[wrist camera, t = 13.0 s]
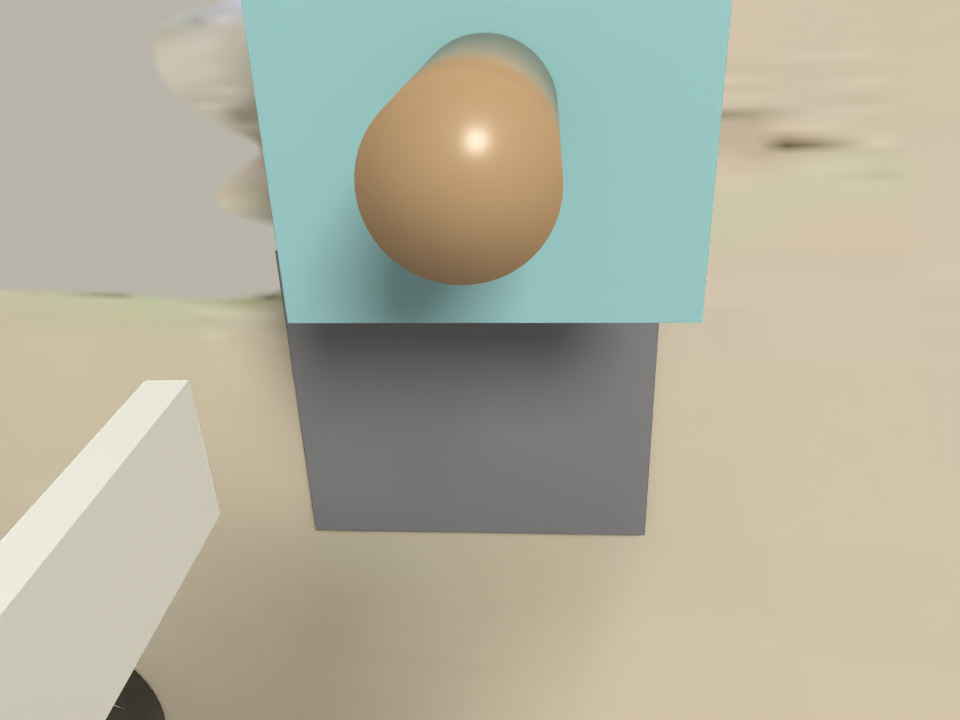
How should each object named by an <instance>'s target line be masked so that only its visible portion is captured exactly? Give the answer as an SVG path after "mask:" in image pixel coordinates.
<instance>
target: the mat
mask: <svg viewBox="0 0 960 720" xmlns="http://www.w3.org/2000/svg"><path fill="white" fill-rule="evenodd" d="M275 253H276V259H277V266H278V273H279V280H280V287H281V294H282V301H283V307H284V314H285V321H286V328H287V334H288V341H289V348H290V355H291V362H292V368H293V375H294V382H295V389H296V396H297V402H298V409H299V416H300V423H301V429H302V436H303V443H304V450H305V457H306V463H307V470H308V477H309V484H310V491H311V497H312V504H313V511H314V518H315V525H316V530H358V531H420V532H481V533H542V534H603V535H645V522H646V507H647V492H648V477H649V462H650V447H651V432H652V417H653V402H654V387H655V372H656V357H657V343H658V328H659V323H288V320H287V313H286V306H285V299H284V292H283V285H282V279H281V272H280V265H279V258H278V251H277V250H276V252H275Z"/></svg>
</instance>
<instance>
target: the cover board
mask: <svg viewBox="0 0 960 720" xmlns="http://www.w3.org/2000/svg"><path fill="white" fill-rule="evenodd" d="M241 5H242V11H243V18H244V25H245V32H246V39H247V46H248V53H249V59H250V66H251V73H252V80H253V87H254V94H255V100H256V107H257V114H258V121H259V128H260V135H261V142H262V148H263V155H264V162H265V169H266V176H267V183H268V190H269V196H270V203H271V210H272V217H273V224H274V230H275V238H276V244H277V251H278V258H279V265H280V272H281V279H282V285H283V292H284V299H285V306H286V313H287V320H288V323H702V317H703V306H704V295H705V285H706V274H707V263H708V252H709V242H710V231H711V220H712V210H713V199H714V188H715V177H716V167H717V156H718V145H719V134H720V124H721V113H722V102H723V91H724V81H725V70H726V59H727V48H728V38H729V27H730V16H731V5H732V0H241Z"/></svg>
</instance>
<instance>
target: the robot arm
mask: <svg viewBox="0 0 960 720" xmlns="http://www.w3.org/2000/svg"><path fill="white" fill-rule="evenodd" d="M219 516H220V510H219V506H218V502H217V497H216V493H215V489H214V485H213V480H212V476H211V472H210V467H209V463H208V459H207V455H206V450H205V446H204V442H203V438H202V433H201V429H200V425H199V421H198V416H197V412H196V408H195V403H194V399H193V395H192V391H191V386H190V382H189V380H158V381H144V382H143V383H142V384H141V386H140V387H139V388H138V389H137V390H136V391H135V392H134V393H133V394H132V396H131V397H130V398H129V399H128V400H127V401H126V402H125V403H124V404H123V406H122V407H121V408H120V409H119V410H118V411H117V412H116V413H115V414H114V416H113V417H112V418H111V419H110V420H109V421H108V422H107V423H106V424H105V426H104V427H103V428H102V429H101V430H100V431H99V432H98V433H97V434H96V436H95V437H94V438H93V439H92V440H91V441H90V442H89V443H88V444H87V446H86V447H85V448H84V449H83V450H82V451H81V452H80V453H79V454H78V456H77V457H76V458H75V459H74V460H73V461H72V462H71V463H70V464H69V466H68V467H67V468H66V469H65V470H64V471H63V472H62V473H61V474H60V476H59V477H58V478H57V479H56V480H55V481H54V482H53V483H52V484H51V486H50V487H49V488H48V489H47V490H46V491H45V492H44V493H43V494H42V496H41V497H40V498H39V499H38V500H37V501H36V502H35V503H34V504H33V506H32V507H31V508H30V509H29V510H28V511H27V512H26V513H25V514H24V516H23V517H22V518H21V519H20V520H19V521H18V522H17V523H16V524H15V526H14V527H13V528H12V529H11V530H10V531H9V532H8V533H7V534H6V536H5V537H4V538H3V539H2V540H1V541H0V720H164V718H163V713H162V710H161V707H160V705H159V703H158V701H157V699H156V697H155V695H154V694H153V692H152V691H151V689H150V688H149V687H148V685H147V684H146V683H145V682H144V681H143V679H142V678H141V677H140V676H139V675H138V674H137V673H136V672H134V671H133V670H134V668H135V666H136V665H137V663H138V661H139V659H140V657H141V656H142V654H143V652H144V650H145V648H146V647H147V645H148V643H149V641H150V639H151V638H152V636H153V634H154V632H155V631H156V629H157V627H158V625H159V623H160V622H161V620H162V618H163V616H164V614H165V613H166V611H167V609H168V607H169V605H170V604H171V602H172V600H173V598H174V597H175V595H176V593H177V591H178V589H179V588H180V586H181V584H182V582H183V580H184V579H185V577H186V575H187V573H188V572H189V570H190V568H191V566H192V564H193V563H194V561H195V559H196V557H197V555H198V554H199V552H200V550H201V548H202V546H203V545H204V543H205V541H206V539H207V538H208V536H209V534H210V532H211V530H212V529H213V527H214V525H215V523H216V521H217V520H218V518H219Z"/></svg>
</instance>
